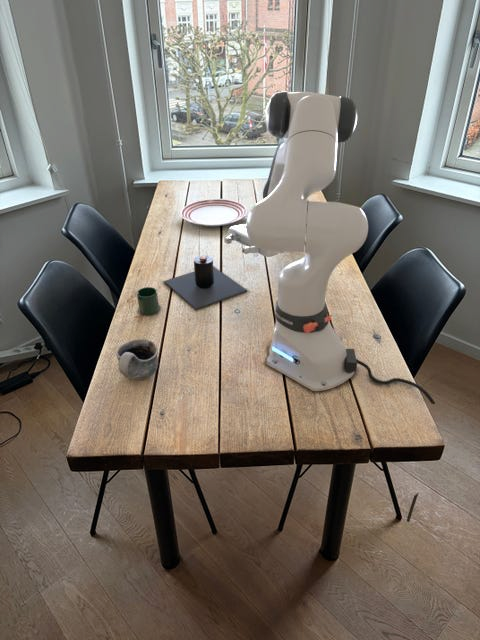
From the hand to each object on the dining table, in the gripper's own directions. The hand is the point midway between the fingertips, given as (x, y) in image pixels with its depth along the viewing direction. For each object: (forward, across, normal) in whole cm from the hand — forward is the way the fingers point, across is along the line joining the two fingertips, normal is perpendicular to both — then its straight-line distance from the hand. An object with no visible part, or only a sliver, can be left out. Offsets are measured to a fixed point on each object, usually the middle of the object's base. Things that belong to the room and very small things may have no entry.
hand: (234, 246), depth 148 cm
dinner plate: (-23, -46, +11) cm, 52 cm away
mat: (+12, 0, +11) cm, 16 cm away
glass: (+32, +1, +11) cm, 34 cm away
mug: (+48, +26, +11) cm, 56 cm away
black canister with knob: (+12, 0, +10) cm, 15 cm away
